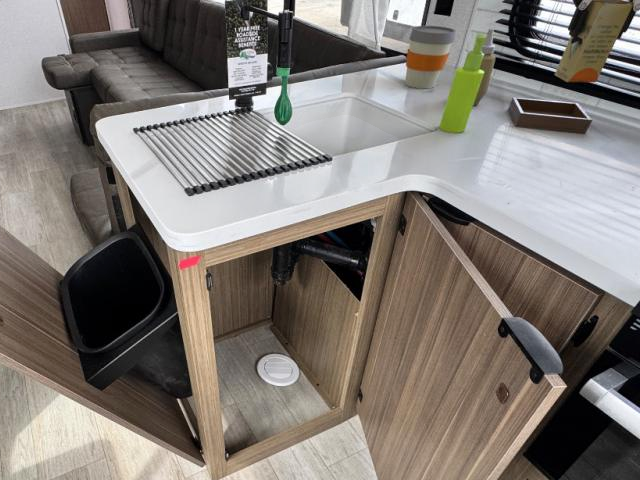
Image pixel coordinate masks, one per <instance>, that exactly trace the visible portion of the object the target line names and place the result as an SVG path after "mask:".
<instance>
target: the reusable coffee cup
mask: <svg viewBox="0 0 640 480" xmlns="http://www.w3.org/2000/svg"><path fill="white" fill-rule="evenodd" d="M456 32H457V30H456V29H454V28H451V27H446V26H439V25H438V26H437V25H416V26H413V27H412V29H411V33H410V35H409V46H408V47H409V48H408V49H407V53H406V62H405V67H406V73H405V81H404V83H405V85H406V86H407V85H408V87H410V86H411V87H410V88H414V87H416V89H421V88H428V89H431V88H430V87H433V88H435V86H436V84H437V82H438V79H439V76H440V74H441V72H442V70H444V68H445V65H446V63H447V60H448V58H449V56H450V49H451V47H452V44H453V43H454V42H455V37H456Z"/></svg>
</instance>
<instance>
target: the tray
mask: <svg viewBox="0 0 640 480" xmlns="http://www.w3.org/2000/svg"><path fill="white" fill-rule="evenodd" d="M507 111H508V115H509V116H510V118H511V120H512V123H513V125H514V127H515V128H523V129H525V128H526V129H534V130H545V131H554V132H563V133H574V134H583V135H586V133H587V131H588V129H589V128H590V126H591V124H592V122H593V119H592V117H591V116H590V115H589V114H588V113H587V112H586V110H585V109H584V108H583V107H582V106H581V105H580V104H579V102H570V101H559V100H548V99H547V100H546V99H537V98H536V99H535V98H525V97H514V96H513V97H512V98H511V101H510V103H509V106H508V107H507Z"/></svg>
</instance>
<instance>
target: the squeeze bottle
mask: <svg viewBox="0 0 640 480" xmlns="http://www.w3.org/2000/svg"><path fill="white" fill-rule="evenodd" d="M494 32H495V29H494V28H488V30H487V32H486V33H485V35H486V39H485V41H484V43H483V46H482V49H481V52H482V53H484V56H483V59H482V62H481V65H480V68H479V69H480V70H483V71H484V75H483V78H482V81H481V83H480V86H479V89H478V92H477V95H476V98H475V101H474V104H473V106H477V105H479V103H481V100H482V99H483V98H484V96H485V95H486V93H487V92H488V89H489V86H490V81H491V78H492V74H493V69H494V66H495V62H496V56H495V55H494V53H495V49H496V45H495V44H493V40H494Z"/></svg>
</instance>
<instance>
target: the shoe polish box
mask: <svg viewBox="0 0 640 480" xmlns="http://www.w3.org/2000/svg"><path fill="white" fill-rule="evenodd" d="M633 4H634V3H633V2H629V1H628V0H592V1H591V2H590V3H589V5H588V8H587V10H588V14H587V16H586V18H585V21H584V23H583V25H582V28H581V30H580V32H579V35H578V36H576V37H572V36H570V38H569V40H568V42H567V44H566V47H565V48H564V52H563V53H562V56H561V59H560V61H559V64H558V65H557V68H556V71H555V73H554V76H556V77H557V78H559V79H561V80H562V81H564V82H566V83H597V81H598V79H599V77H600V74H601V72H602V70H603V68H604V66H605V65H606V63H607V60H608V58H609V56H610V54H611V52H612V50H613V48H614V46H615V44H616V42H617V40H618V39H617V37H618V35H619V33H620V31H621V29H622V27H623V25H624V23H625V21H626V19H627V17H628V15H629V13H630V11H631V9H632V7H633Z"/></svg>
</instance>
